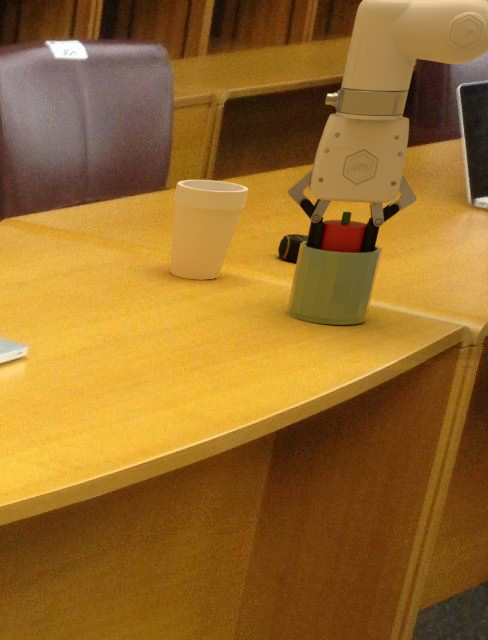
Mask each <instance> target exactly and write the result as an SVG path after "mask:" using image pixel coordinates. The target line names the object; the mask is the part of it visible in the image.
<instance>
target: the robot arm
mask: <svg viewBox="0 0 488 640" xmlns="http://www.w3.org/2000/svg"><path fill="white" fill-rule="evenodd" d="M487 52H488V0H362V1H361V2H360V3H359V5H358V7H357V11H356V13H355V18H354V23H353V28H352V34H351V38H350V43H349V48H348V53H347V58H346V62H345V67H344V72H343V78H342V81H341V87H340V88H339V90H337V92H335V91H334V92H333V93H331V92H327V94H326V97H325V102H324V104H325V106H326V105H327V106H331V107H334V108H335V113H330V114H329V116H328V118H327V121H326V123H325V126H324V128H323V131H322V134H321V137H320V140H319V143H318V145H317V150H316V153H315V157H314V161H313V165H312V168H311V169H309V170H308V171H306V173H304V174H303V176H301V177H300V178H299V179H298V180H297V181H296V182H295V183H294V184H293V185H292V186H290V187H289V189H287V193H288V196H289V197H290V198H291V199H292V200H293V201H294V202H295V203H296V204H297V205H298V206H299V207H300V208H301V209H302V211H303V213H305V215H306V216H307V217H308V218H309V220H310V225H309V229H308V234H307V236H308V238H307V243H306V246H308V247H311V248H315V249H319V247H320V242H321V238H322V233H323V228H324V223H323V221H324V215H325V213H326V211H327V209H328V208H329V205H330V203H331V202H344V203H345V202H346V203H366V204H369V211H370V217H369V218H368V221H367V222H366V224H367V229H366V233H365V238H364V242H363V247H362V251H361V253H362V252H369V251H374V249H375V245H376V246H377V241H378V235H379V230H380V227H381V226H383V224H384V223H385V222H387V221H388V220H390V219H391V218H392V217H394V216H395V215H397V214H398V213H399V212H400V211H402V210H404V209H405V208H407V207H409V206H410V205H412V204H414V203H415V202H416V201H417V196H416V193H415V192H414V191H413V189H412V187H411V186H410V184H409V182H408V181H407V179H406V177H405V176H404V174H403V173H404V170H405V169H404V168H405V164H406V156H407V151H408V142H409V134H410V118H408V117H405V116H404V115H403V114H404V112H405V107H406V102H407V100H408V99H407V98H408V94H409V89H410V85H411V80H412V76H413V73H414V72H413V71H414V67H415V63H416V60H423V61H429V62H430V61H431V62H436V63H441V64H446V65H447V64H448V65H461V64H465V63H470V62H472V61H475V60H476V59H479V58H480V57H481V56H483V55H484V54H485V53H487ZM307 188H309V191H310V192H309V193H310V194H311V196H313V197H314V198H315V199H316V201H315V203H313V202H312V201H311V200H310V199H309V198H308V197H307V196H306V194H305V193H304V192H305V190H306V189H307ZM399 194H400V196H399V197H398V195H399ZM397 197H398V198H397ZM387 203H389V204H387ZM383 204H387V205H386V206H385V207H384V206H383Z"/></svg>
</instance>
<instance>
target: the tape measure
mask: <svg viewBox="0 0 488 640" xmlns="http://www.w3.org/2000/svg"><path fill="white" fill-rule="evenodd" d="M307 238H308V234H307V235H306V234H299V233H290V234H286V235H284V236H283V237H282V239H280V242H279V245H278V250H277V252H278V256H279V258H281V259H283V260H286V261H287V262H288V261H289V262H291V263H292V262H293V263H297V258H298V253H299V249H300V244H301V243H302V242H303V241H307Z"/></svg>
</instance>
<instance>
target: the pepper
mask: <svg viewBox="0 0 488 640" xmlns="http://www.w3.org/2000/svg"><path fill="white" fill-rule="evenodd" d="M351 217H352V211H343V212H342V216H341V219H327V220H323V223H324V228H323V233H322V238H321V242H320V247H319V249H320V250H326V251H335V252H350V253H361V251H362V247H363V242H364V238H365V233H366V229H367V223H364V222H361V221H357V220H351Z"/></svg>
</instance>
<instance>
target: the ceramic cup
mask: <svg viewBox="0 0 488 640" xmlns="http://www.w3.org/2000/svg"><path fill="white" fill-rule="evenodd" d="M306 243H307V241H303V242H302V243H301V244H300V249H299V253H298V258H297V262H295V263H296V264H295V268H294V274H293V280H292V283H291V289H290V294H289V299H288V304H287V312H286V313H287V315H288V316H290V317H291V318H294V319H296V320H299V321H303V322H307V323H313V324H322V325H334V326H346V325H347V326H348V325H357V324H361V323H364V322H365V321H366V320H367V316H368V314H369V311H370V310H369V308H370V305H371V300H372V295H373V291H374V286H375V283H376V277H377V275H378V269H379V265H380V261H381V256H382V252H383V249H382V248H381V247H380V246H378V245H377V244H376V245H375V249H374V251H369V252H362V253H350V252H335V251H326V250H320V249H315V248H311V247H308V246H306Z"/></svg>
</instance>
